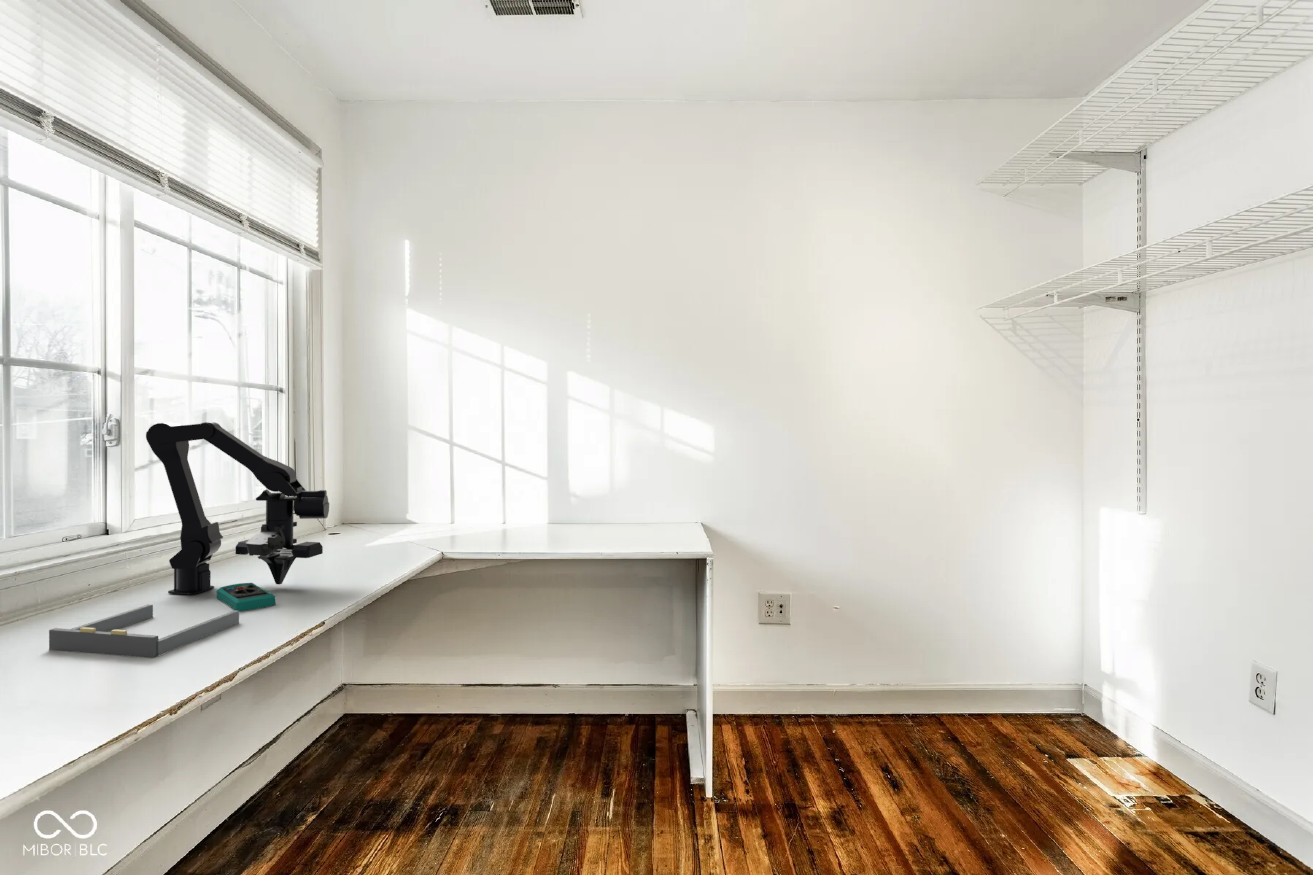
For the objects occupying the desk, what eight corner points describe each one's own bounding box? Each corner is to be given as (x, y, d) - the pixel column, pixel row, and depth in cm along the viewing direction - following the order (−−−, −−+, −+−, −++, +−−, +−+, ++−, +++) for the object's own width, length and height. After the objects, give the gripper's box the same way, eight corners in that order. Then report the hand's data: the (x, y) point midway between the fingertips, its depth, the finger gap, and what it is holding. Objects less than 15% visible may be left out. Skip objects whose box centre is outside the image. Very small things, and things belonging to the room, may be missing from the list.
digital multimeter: (253, 593, 155) (253, 580, 154) (276, 607, 144) (276, 593, 144) (215, 599, 149) (215, 586, 149) (236, 614, 138) (236, 600, 138)
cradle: (49, 649, 115) (49, 626, 115) (148, 616, 134) (148, 596, 134) (153, 657, 112) (153, 634, 112) (239, 622, 132) (239, 602, 132)
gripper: (217, 522, 150) (216, 590, 151) (293, 526, 148) (292, 595, 149) (252, 515, 161) (252, 578, 162) (324, 518, 159) (323, 583, 160)
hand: (279, 584), depth 158 cm, fingers closed
